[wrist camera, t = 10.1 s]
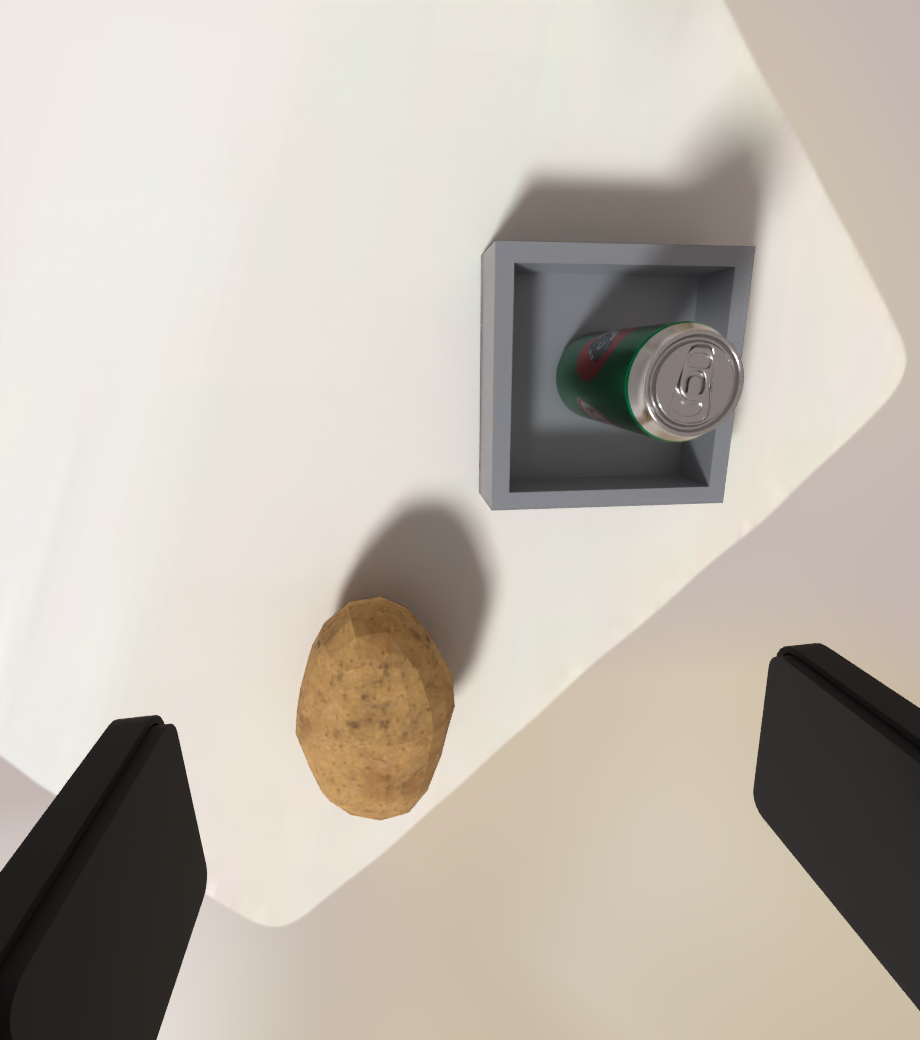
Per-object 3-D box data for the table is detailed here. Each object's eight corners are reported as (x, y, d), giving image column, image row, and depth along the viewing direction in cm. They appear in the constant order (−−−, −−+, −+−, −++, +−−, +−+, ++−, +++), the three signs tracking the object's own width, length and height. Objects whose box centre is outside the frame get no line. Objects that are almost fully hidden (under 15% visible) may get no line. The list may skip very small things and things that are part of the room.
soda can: (547, 413, 35) (625, 440, 24) (559, 327, 34) (648, 311, 22) (625, 421, 36) (737, 451, 24) (640, 337, 35) (766, 327, 23)
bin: (480, 255, 33) (495, 240, 29) (709, 260, 35) (755, 246, 30) (479, 492, 37) (491, 510, 33) (685, 486, 38) (722, 502, 34)
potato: (449, 568, 38) (465, 620, 30) (445, 749, 42) (458, 836, 34) (299, 571, 37) (276, 626, 29) (308, 757, 41) (290, 849, 33)
